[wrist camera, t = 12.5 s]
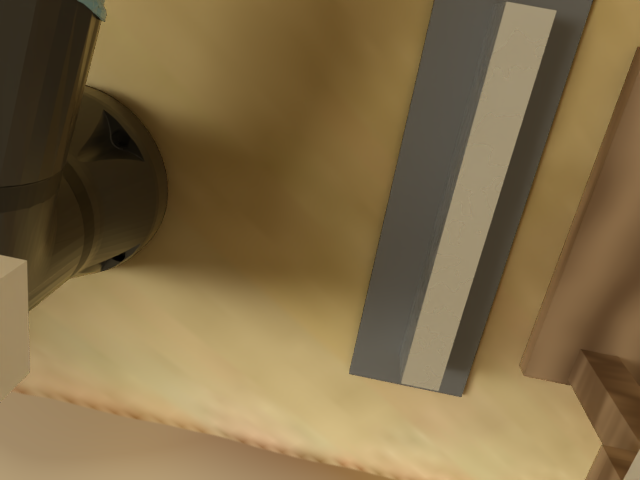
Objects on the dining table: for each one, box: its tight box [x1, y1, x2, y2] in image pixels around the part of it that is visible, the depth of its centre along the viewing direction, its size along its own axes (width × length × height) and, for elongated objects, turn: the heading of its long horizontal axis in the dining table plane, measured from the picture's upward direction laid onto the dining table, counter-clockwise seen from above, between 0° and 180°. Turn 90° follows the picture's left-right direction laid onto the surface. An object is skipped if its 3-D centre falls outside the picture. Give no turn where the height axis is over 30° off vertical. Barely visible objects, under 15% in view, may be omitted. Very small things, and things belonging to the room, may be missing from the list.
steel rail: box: [399, 2, 556, 391], centre depth 39 cm, size 3×28×4 cm, turn 170°
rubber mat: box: [349, 0, 593, 397], centre depth 41 cm, size 10×34×1 cm, turn 170°
